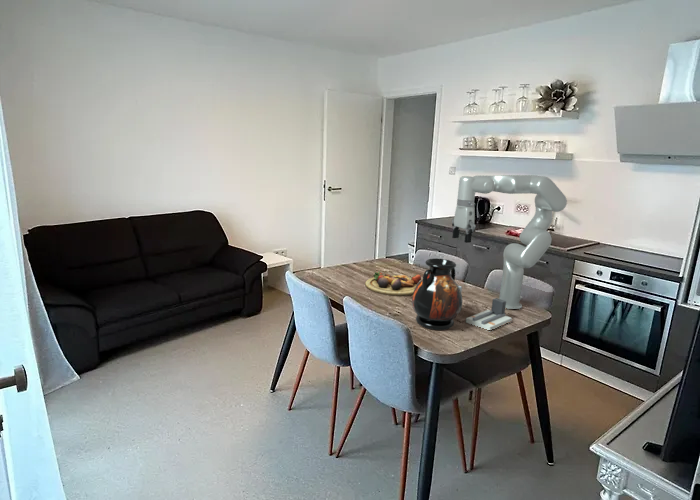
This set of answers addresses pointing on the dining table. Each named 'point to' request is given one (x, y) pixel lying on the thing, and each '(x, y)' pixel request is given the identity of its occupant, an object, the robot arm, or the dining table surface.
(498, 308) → the fader knob
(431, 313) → the amphora vase
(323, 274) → the dining table surface
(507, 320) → the fader console
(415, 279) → the wooden plate with food
